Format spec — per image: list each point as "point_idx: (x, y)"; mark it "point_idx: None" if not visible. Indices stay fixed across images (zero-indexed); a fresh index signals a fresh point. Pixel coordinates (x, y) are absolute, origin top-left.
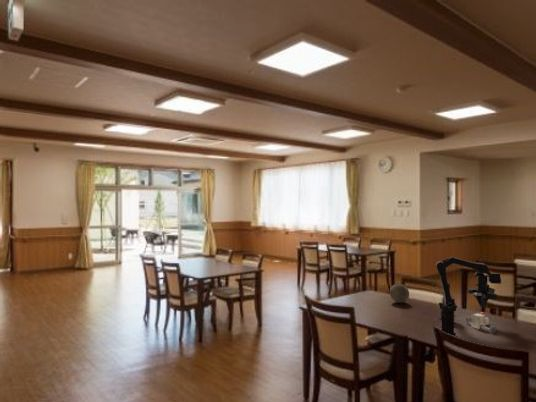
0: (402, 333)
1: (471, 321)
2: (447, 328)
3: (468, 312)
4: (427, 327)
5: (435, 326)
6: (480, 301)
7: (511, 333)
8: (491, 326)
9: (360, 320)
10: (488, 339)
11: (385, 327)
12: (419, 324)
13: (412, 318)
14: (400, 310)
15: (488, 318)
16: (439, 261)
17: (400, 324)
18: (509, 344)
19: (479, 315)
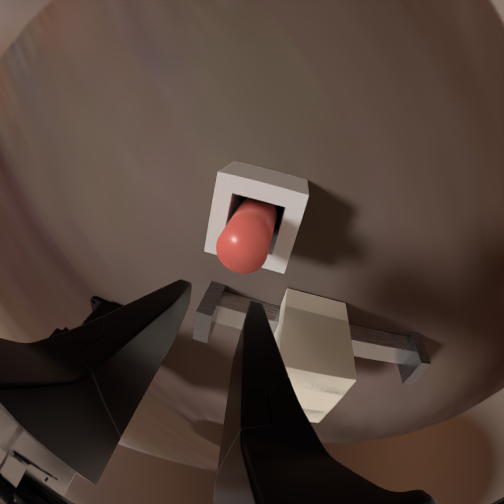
0: (206, 466)
1: (228, 311)
2: None
3: (45, 47)
4: (185, 428)
5: (184, 413)
6: (145, 365)
7: (487, 262)
8: (410, 379)
9: None
10: (405, 409)
11: (155, 452)
12: (149, 417)
13: None
14: (10, 317)
15: (308, 195)
16: None
17: (139, 432)
18: (470, 391)
19: (314, 404)
